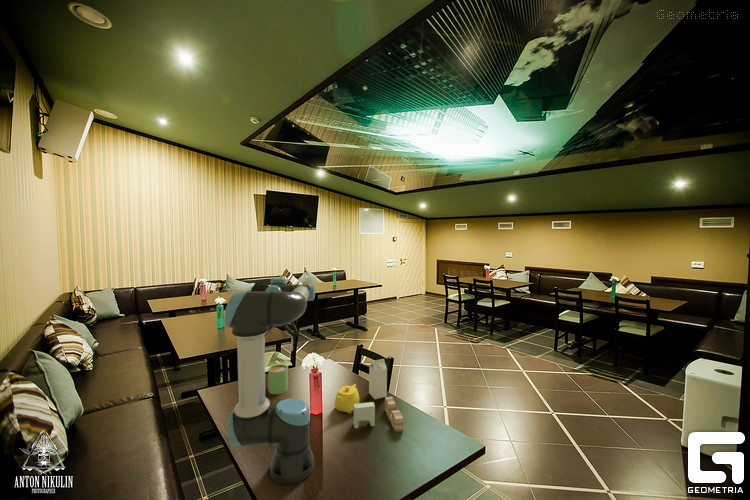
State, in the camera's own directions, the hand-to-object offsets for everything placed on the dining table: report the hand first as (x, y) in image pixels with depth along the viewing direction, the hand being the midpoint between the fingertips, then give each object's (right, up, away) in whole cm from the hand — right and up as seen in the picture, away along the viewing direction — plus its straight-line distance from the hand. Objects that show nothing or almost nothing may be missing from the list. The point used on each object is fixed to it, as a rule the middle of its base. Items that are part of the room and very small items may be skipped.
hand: (277, 351), depth 150 cm
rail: (+57, -28, -12) cm, 65 cm away
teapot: (+35, -27, -4) cm, 44 cm away
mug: (-5, -26, +15) cm, 31 cm away
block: (+44, -28, -16) cm, 54 cm away
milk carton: (+50, -27, +10) cm, 58 cm away
